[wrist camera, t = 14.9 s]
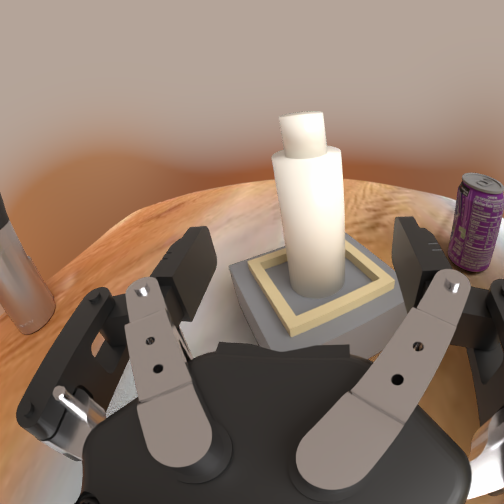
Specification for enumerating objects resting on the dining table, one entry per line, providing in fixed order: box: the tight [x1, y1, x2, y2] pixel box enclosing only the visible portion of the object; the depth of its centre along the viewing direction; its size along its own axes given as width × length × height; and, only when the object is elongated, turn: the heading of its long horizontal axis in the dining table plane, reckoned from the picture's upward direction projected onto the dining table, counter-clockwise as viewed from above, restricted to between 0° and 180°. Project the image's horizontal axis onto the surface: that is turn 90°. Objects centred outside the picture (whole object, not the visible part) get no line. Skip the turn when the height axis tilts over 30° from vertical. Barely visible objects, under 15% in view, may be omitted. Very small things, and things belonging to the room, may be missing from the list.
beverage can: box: [448, 173, 504, 272], centre depth 28 cm, size 7×7×12 cm
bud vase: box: [272, 111, 345, 299], centre depth 22 cm, size 5×5×15 cm
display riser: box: [229, 233, 407, 359], centre depth 28 cm, size 14×14×7 cm
